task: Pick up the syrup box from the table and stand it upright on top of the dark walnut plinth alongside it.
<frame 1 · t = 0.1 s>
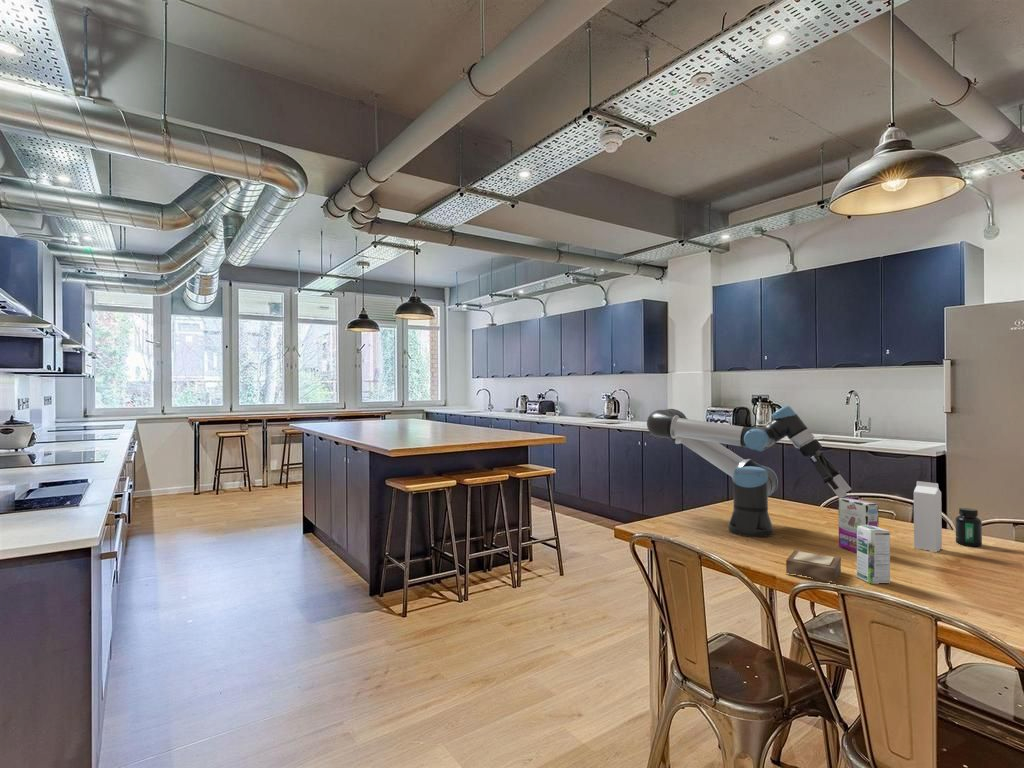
hand: (846, 494, 193), 15 cm above the table, tool tilted 35°, fingers open, 13 cm apart
plinth: (813, 573, 155), on the table
milk: (927, 549, 179), on the table
supplement bottle: (968, 545, 184), on the table
syrup box: (873, 581, 149), on the table
candy bar box: (858, 551, 176), on the table
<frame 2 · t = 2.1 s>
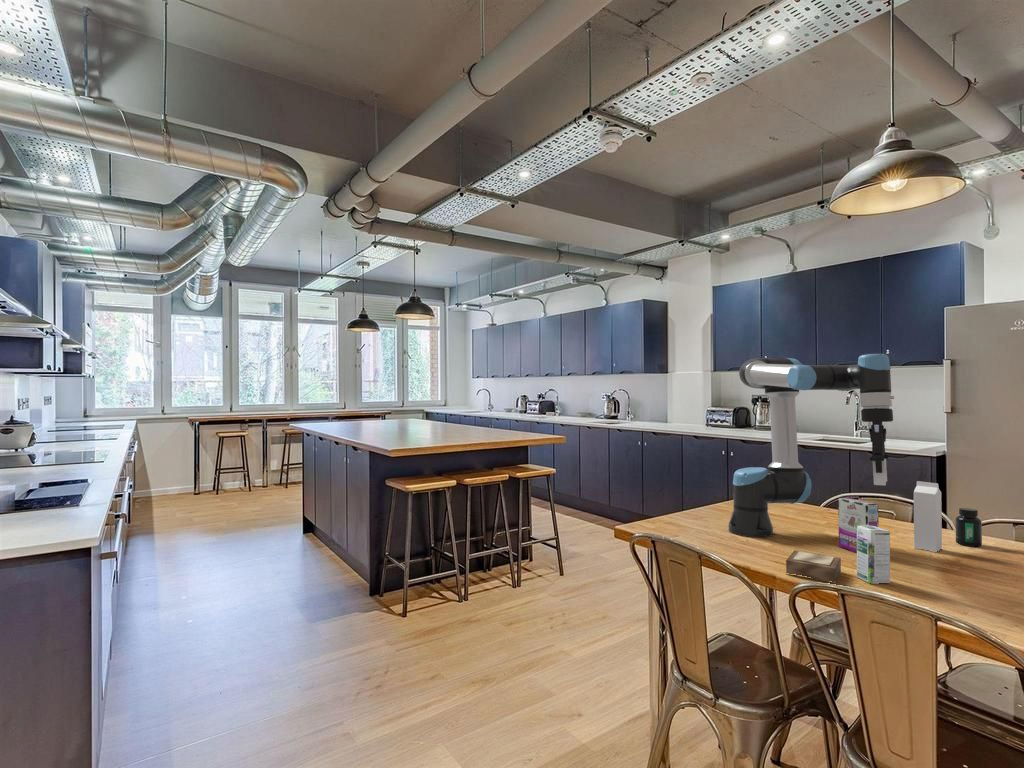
hand: (880, 483, 153), 26 cm above the table, tool pointing down, fingers open, 13 cm apart
nothing on the table moved.
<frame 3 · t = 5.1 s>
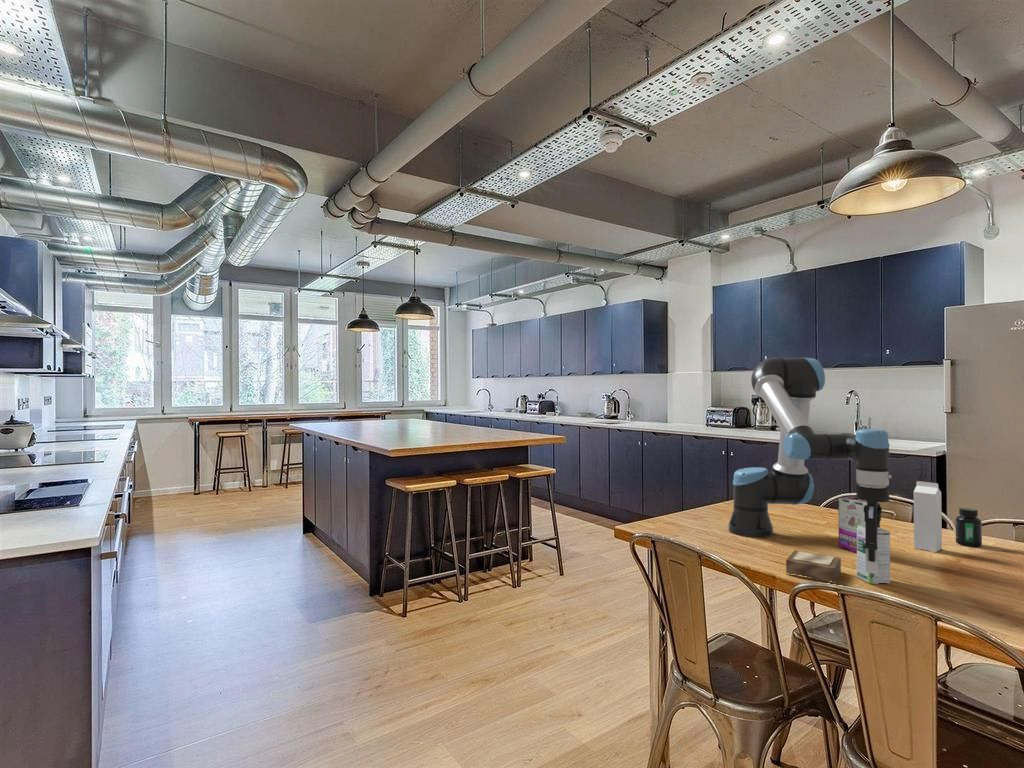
hand: (873, 568, 149), 3 cm above the table, tool pointing down, fingers closed on syrup box, 8 cm apart
syrup box: (873, 581, 149), on the table, touching gripper
everything else where it was.
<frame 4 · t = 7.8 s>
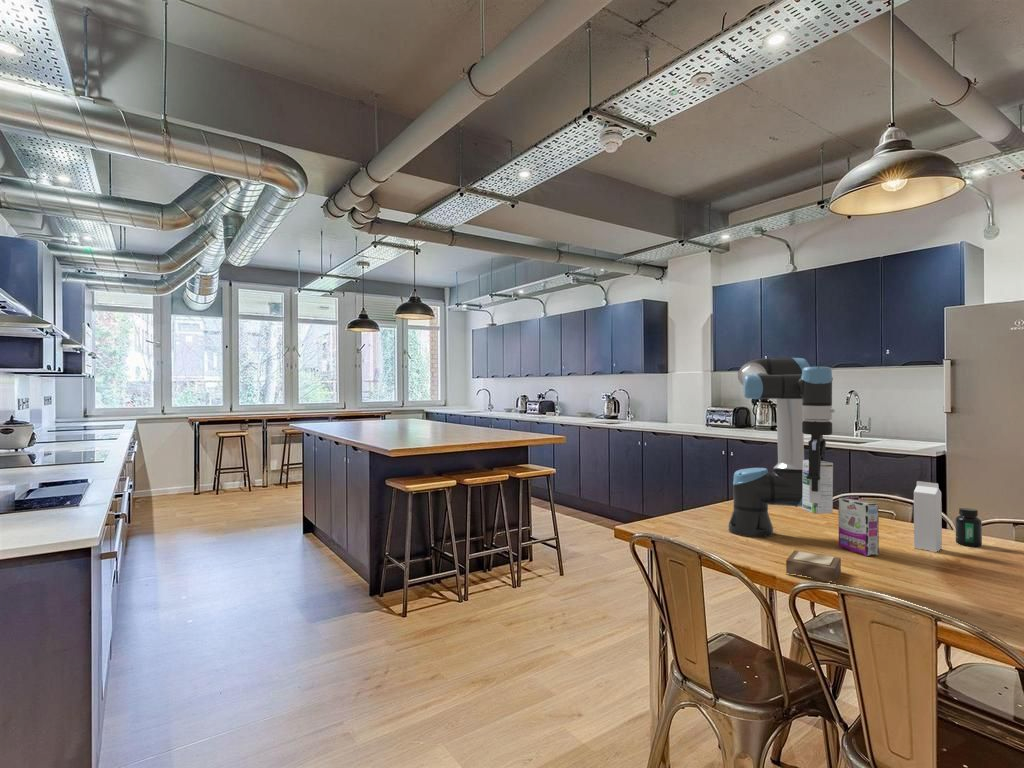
hand: (817, 500, 155), 21 cm above the table, tool pointing down, fingers closed on syrup box, 8 cm apart
syrup box: (817, 512, 155), point 17 cm above the table, touching gripper
everything else where it was.
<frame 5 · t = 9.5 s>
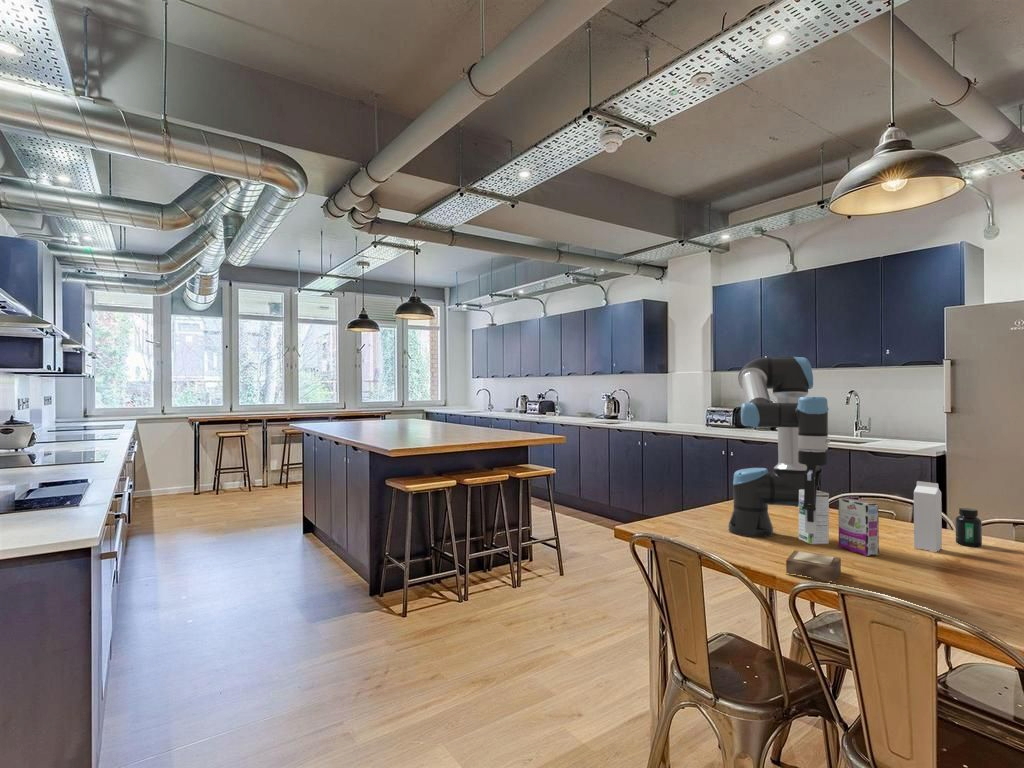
hand: (813, 530, 155), 12 cm above the table, tool pointing down, fingers closed on syrup box, 8 cm apart
syrup box: (813, 542, 155), point 9 cm above the table, touching gripper
everything else where it was.
when the fingers open (9 cm above the table, at t = 10.7 s): syrup box drops 1 cm, resting on plinth.
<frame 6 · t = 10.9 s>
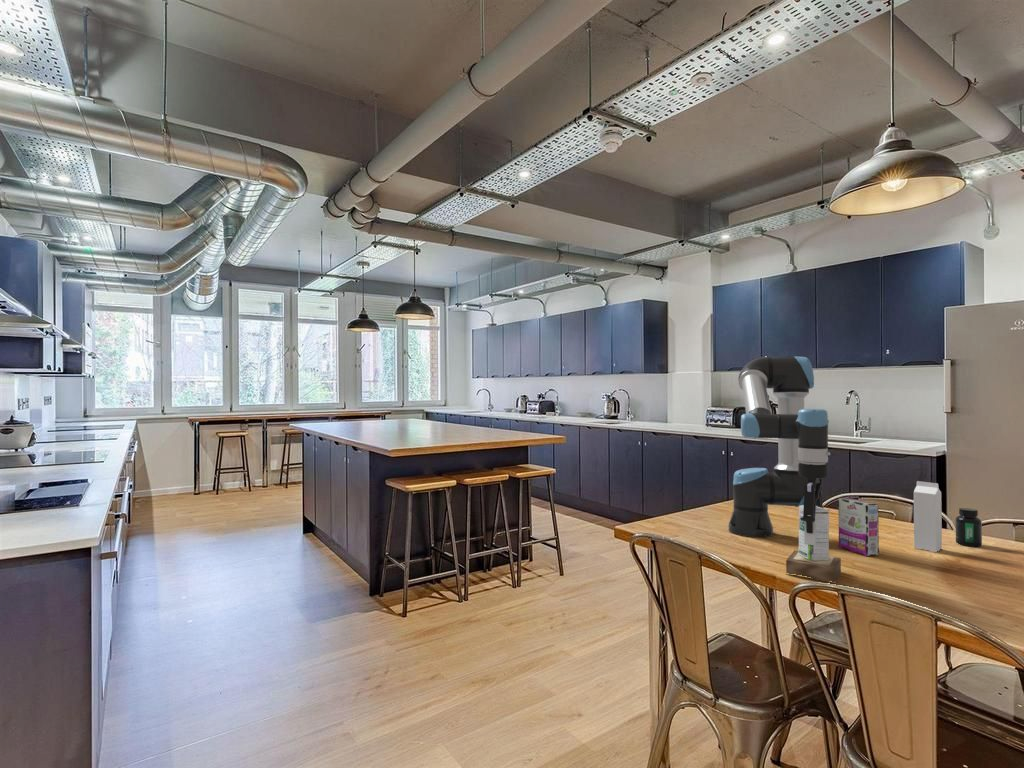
hand: (813, 540, 155), 9 cm above the table, tool pointing down, fingers open, 10 cm apart
syrup box: (813, 558, 155), point 4 cm above the table, touching plinth
everything else where it was.
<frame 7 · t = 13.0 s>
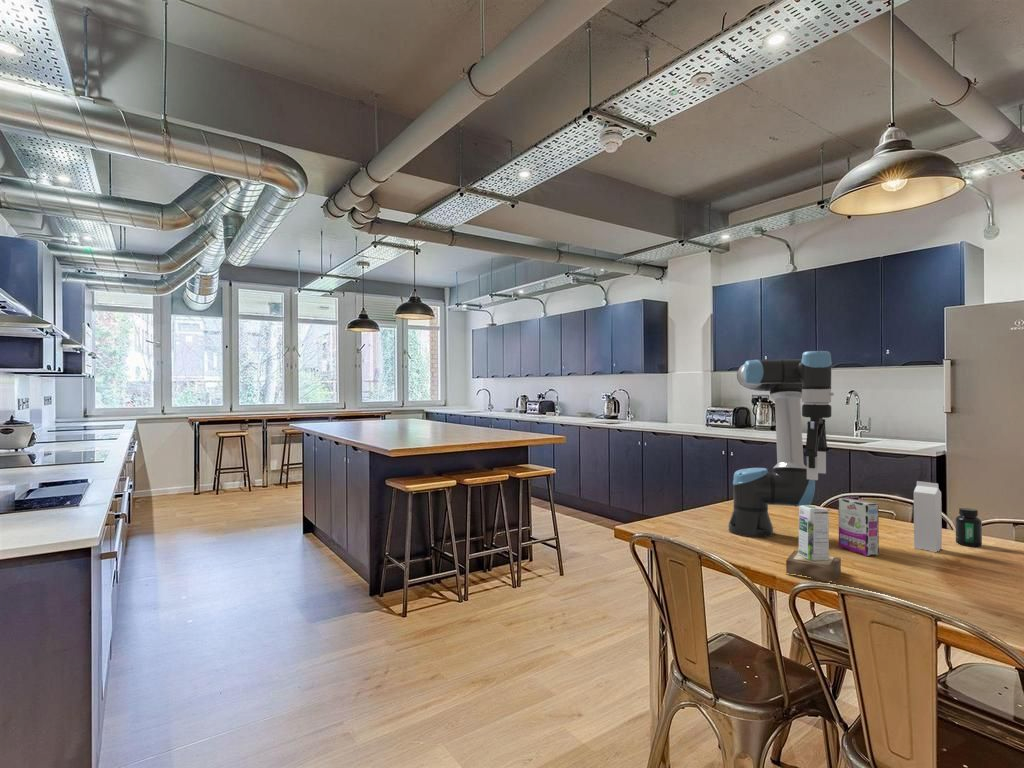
hand: (816, 476, 159), 27 cm above the table, tool pointing down, fingers open, 13 cm apart
nothing on the table moved.
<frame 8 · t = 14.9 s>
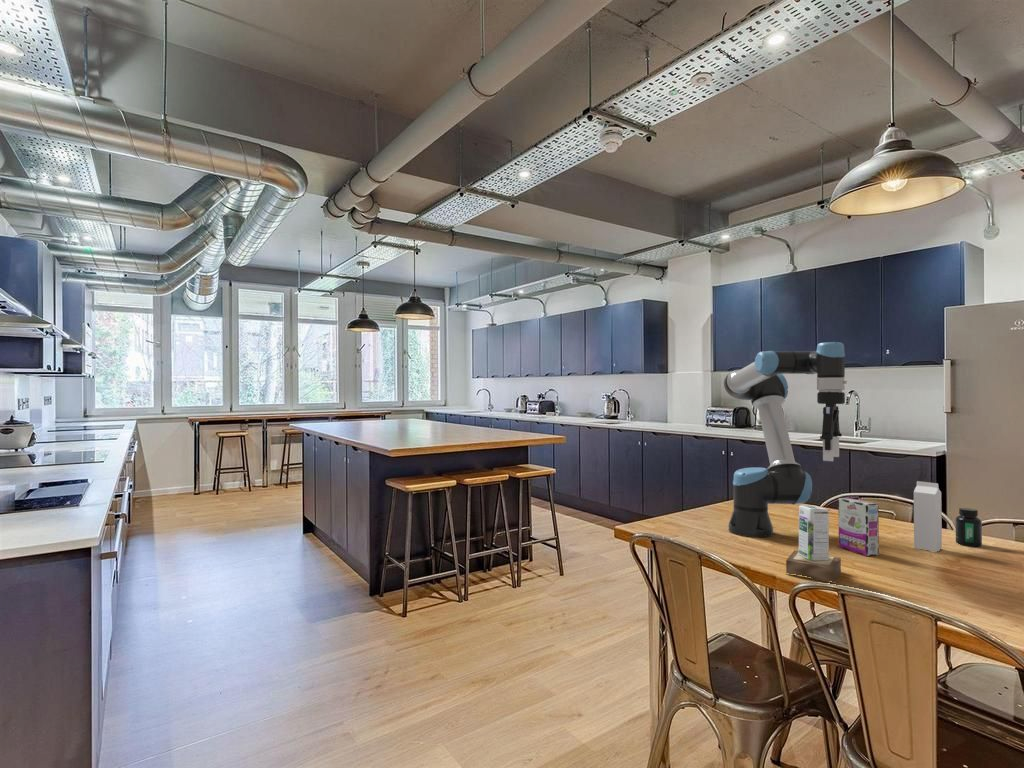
hand: (831, 458, 171), 31 cm above the table, tool pointing down, fingers open, 13 cm apart
nothing on the table moved.
at the end: syrup box inside the target area on the plinth (0.1 cm from its centre), point 4.1 cm above the plinth's base; syrup box tilted 0°; the gripper is holding nothing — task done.
